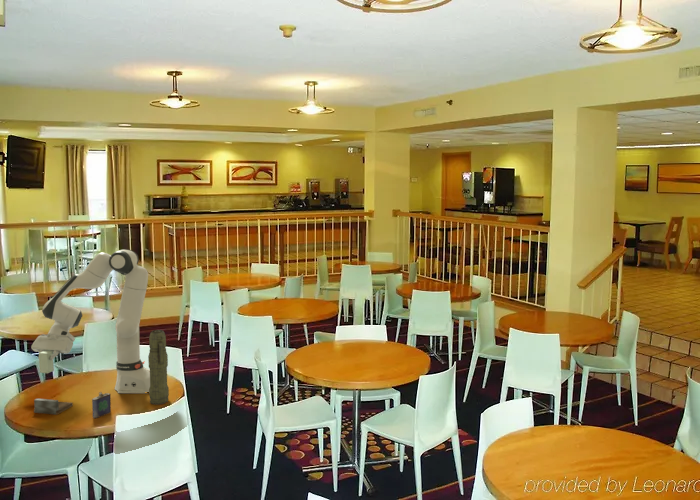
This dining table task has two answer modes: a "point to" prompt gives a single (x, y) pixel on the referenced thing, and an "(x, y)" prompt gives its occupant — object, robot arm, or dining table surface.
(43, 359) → the cabinet block
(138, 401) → the dining table surface
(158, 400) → the stone statue
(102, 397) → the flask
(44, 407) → the display stand
